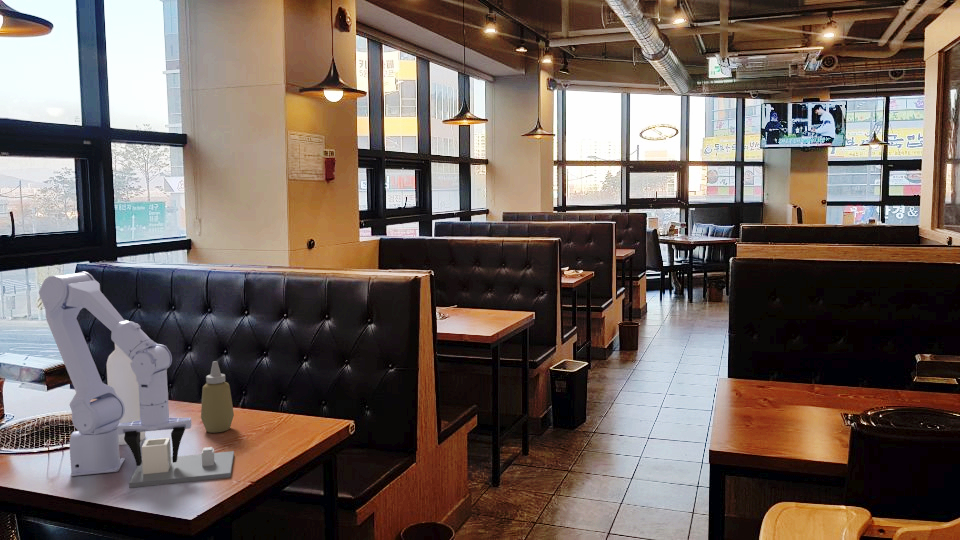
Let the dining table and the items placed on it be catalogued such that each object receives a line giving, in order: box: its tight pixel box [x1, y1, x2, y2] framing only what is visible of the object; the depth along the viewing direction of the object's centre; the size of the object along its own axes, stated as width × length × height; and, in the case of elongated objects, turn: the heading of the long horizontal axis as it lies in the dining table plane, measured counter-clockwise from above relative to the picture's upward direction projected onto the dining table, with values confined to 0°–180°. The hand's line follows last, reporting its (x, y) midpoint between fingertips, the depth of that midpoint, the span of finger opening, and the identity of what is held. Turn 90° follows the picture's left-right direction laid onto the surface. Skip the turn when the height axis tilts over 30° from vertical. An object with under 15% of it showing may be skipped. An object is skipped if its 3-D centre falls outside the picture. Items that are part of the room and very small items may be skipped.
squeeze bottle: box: [200, 360, 235, 434], centre depth 189 cm, size 8×8×18 cm
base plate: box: [128, 446, 235, 489], centre depth 162 cm, size 20×14×4 cm
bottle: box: [106, 319, 146, 446], centre depth 181 cm, size 8×8×30 cm
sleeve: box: [141, 437, 172, 474], centre depth 160 cm, size 5×5×6 cm
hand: (157, 462), depth 160 cm, fingers open, 7 cm apart
